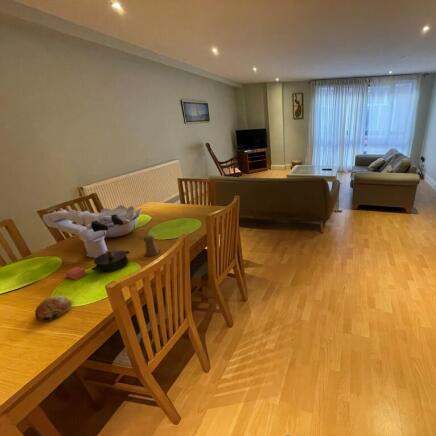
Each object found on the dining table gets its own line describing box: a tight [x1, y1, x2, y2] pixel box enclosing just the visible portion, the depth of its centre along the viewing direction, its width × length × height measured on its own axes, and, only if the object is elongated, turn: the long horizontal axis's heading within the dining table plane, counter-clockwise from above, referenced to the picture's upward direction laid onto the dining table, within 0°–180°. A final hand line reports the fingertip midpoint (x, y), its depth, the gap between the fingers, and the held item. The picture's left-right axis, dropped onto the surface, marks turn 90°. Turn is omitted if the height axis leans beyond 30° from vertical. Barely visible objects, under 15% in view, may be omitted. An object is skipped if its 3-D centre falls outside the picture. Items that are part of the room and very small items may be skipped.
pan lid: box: [93, 249, 128, 266], centre depth 121 cm, size 14×14×5 cm
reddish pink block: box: [65, 266, 87, 281], centre depth 114 cm, size 6×4×3 cm
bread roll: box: [34, 295, 72, 322], centre depth 92 cm, size 10×10×8 cm
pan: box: [91, 250, 130, 273], centre depth 122 cm, size 12×18×4 cm
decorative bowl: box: [84, 204, 142, 238], centre depth 154 cm, size 30×30×15 cm
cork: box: [143, 234, 160, 257], centre depth 132 cm, size 6×6×11 cm
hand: (114, 225), depth 120 cm, fingers open, 7 cm apart
